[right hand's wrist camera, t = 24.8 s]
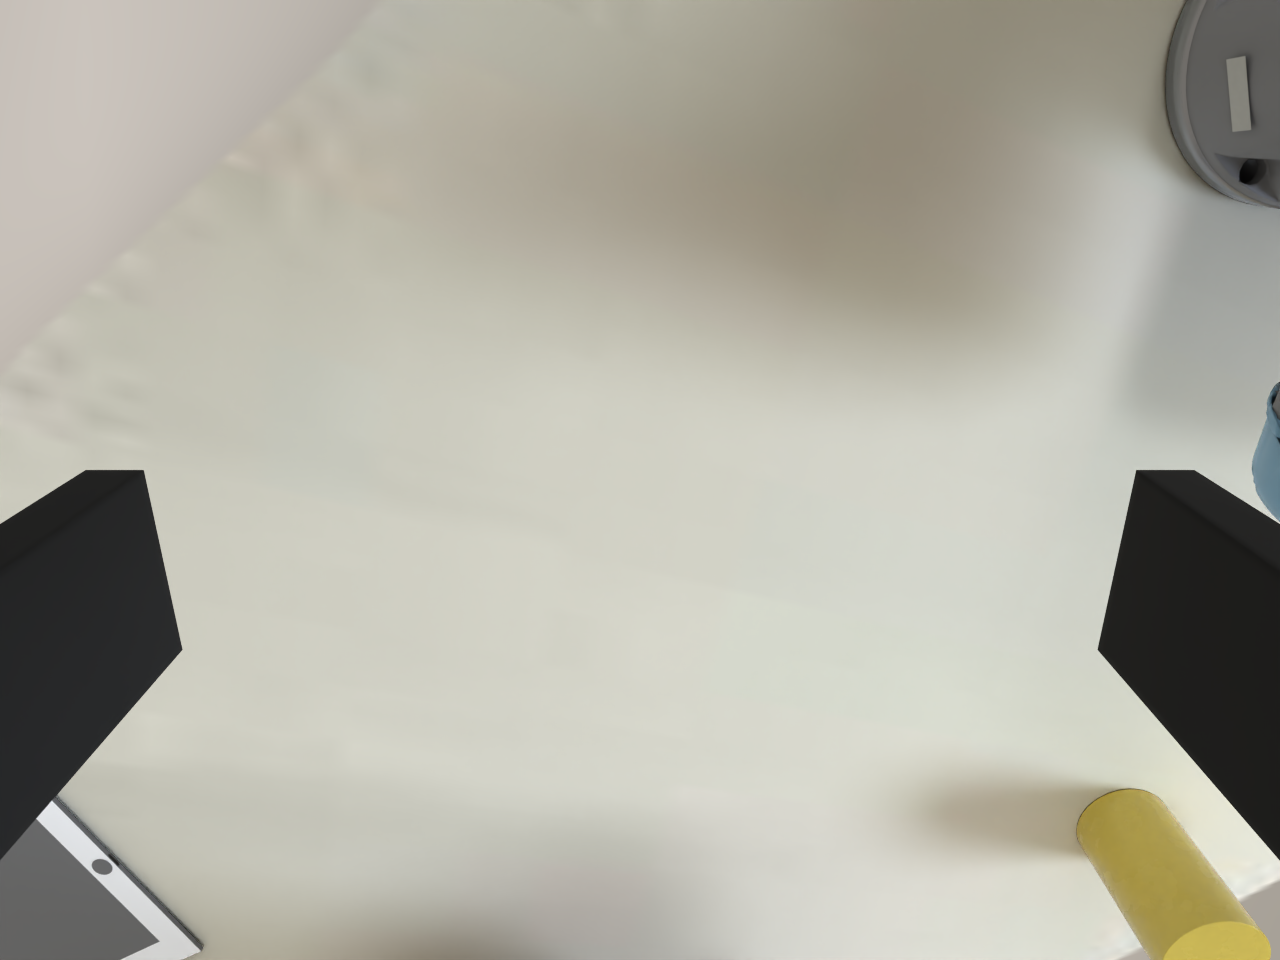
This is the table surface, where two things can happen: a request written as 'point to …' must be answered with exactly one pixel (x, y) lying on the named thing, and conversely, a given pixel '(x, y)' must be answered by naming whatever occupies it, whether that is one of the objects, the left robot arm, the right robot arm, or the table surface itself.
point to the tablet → (79, 900)
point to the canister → (1165, 882)
